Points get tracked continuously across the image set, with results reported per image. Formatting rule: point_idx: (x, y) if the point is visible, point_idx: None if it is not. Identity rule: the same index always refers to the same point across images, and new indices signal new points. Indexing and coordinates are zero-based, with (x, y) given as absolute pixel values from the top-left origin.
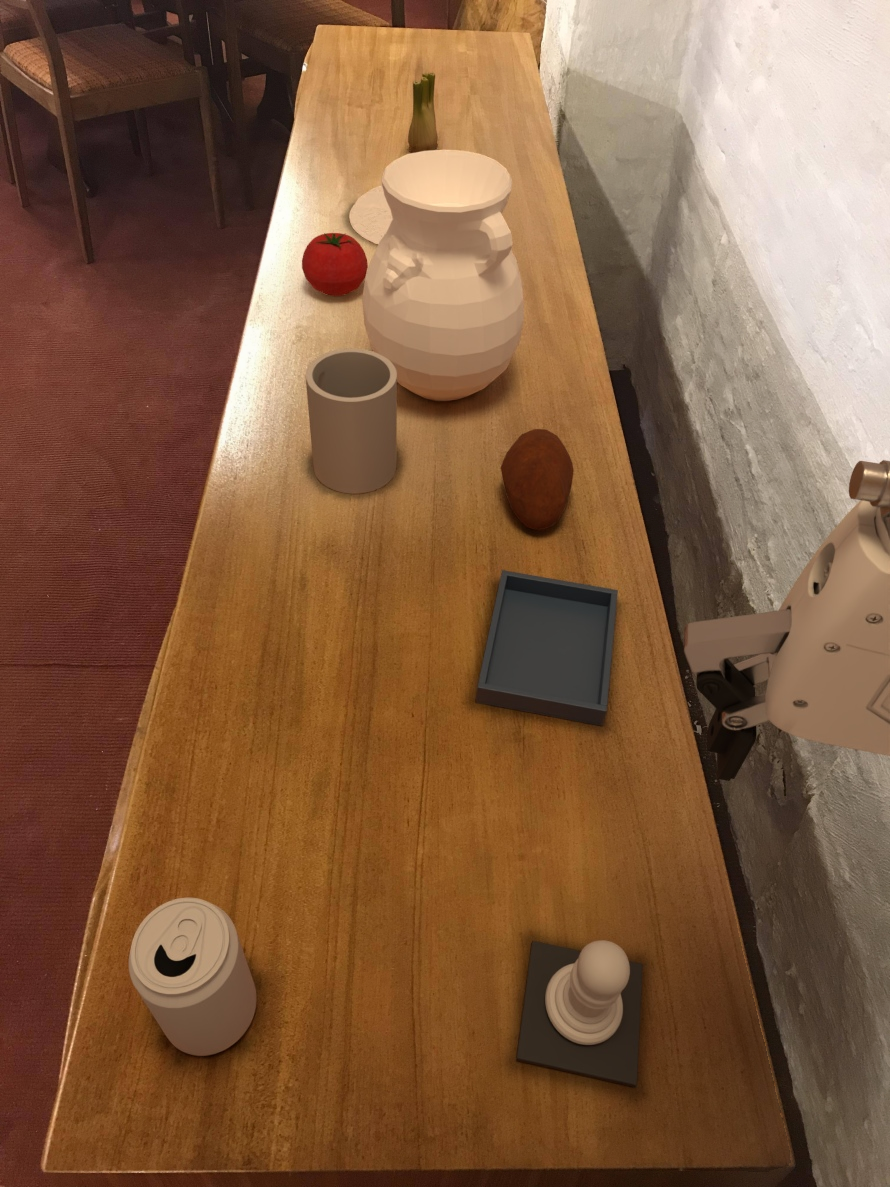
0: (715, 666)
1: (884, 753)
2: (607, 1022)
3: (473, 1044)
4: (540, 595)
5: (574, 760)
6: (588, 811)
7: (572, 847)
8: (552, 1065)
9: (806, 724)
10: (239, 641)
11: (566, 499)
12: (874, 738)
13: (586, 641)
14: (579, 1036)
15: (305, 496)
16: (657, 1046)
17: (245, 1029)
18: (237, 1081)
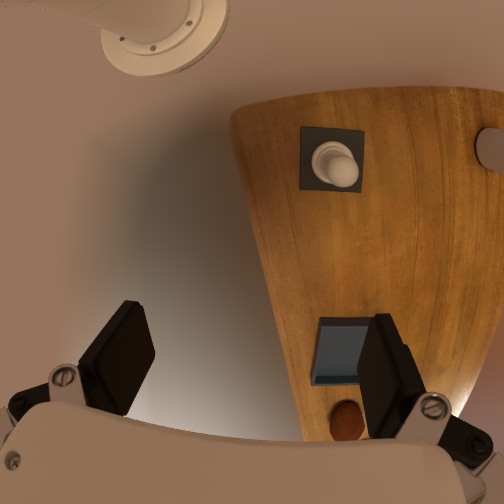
0: (486, 477)
1: (221, 447)
2: (321, 152)
3: (384, 137)
4: (348, 375)
5: (336, 296)
6: (329, 269)
7: (338, 248)
8: (346, 130)
9: (409, 483)
10: (481, 319)
11: (334, 419)
12: (258, 492)
13: (326, 358)
14: (335, 144)
15: (444, 389)
16: (289, 148)
17: (478, 138)
18: (473, 118)
